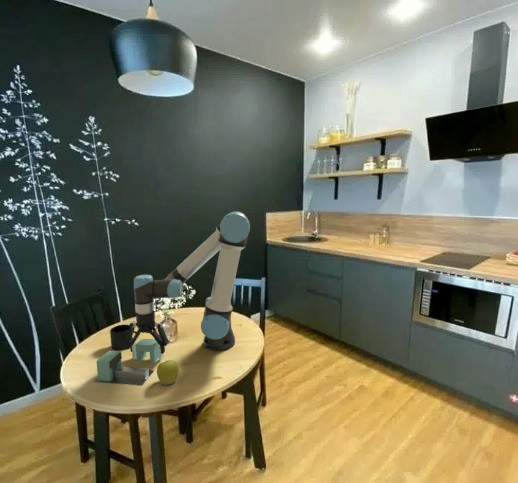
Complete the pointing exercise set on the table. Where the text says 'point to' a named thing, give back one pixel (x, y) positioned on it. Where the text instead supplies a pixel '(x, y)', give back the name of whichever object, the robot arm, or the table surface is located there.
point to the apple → (167, 372)
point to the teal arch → (147, 349)
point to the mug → (119, 337)
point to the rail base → (128, 375)
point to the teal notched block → (108, 365)
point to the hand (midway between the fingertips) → (148, 359)
